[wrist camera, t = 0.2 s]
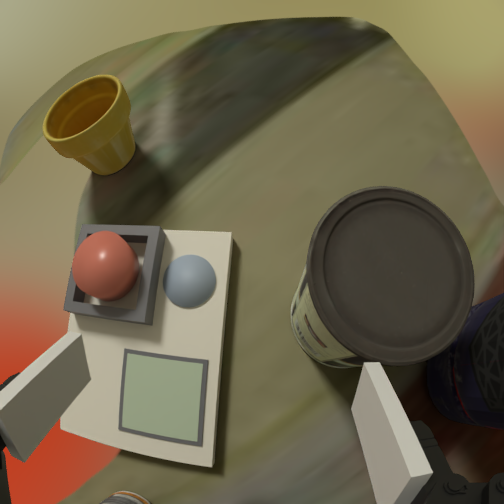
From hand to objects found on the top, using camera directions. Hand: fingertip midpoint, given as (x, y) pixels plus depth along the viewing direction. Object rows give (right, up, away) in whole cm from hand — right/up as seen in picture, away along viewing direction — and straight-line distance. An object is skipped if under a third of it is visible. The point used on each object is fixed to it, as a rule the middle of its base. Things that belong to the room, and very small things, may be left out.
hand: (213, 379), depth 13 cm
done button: (-12, +4, +15) cm, 19 cm away
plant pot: (-16, +18, +24) cm, 34 cm away
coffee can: (+10, 0, +16) cm, 19 cm away
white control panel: (-9, -3, +16) cm, 18 cm away
